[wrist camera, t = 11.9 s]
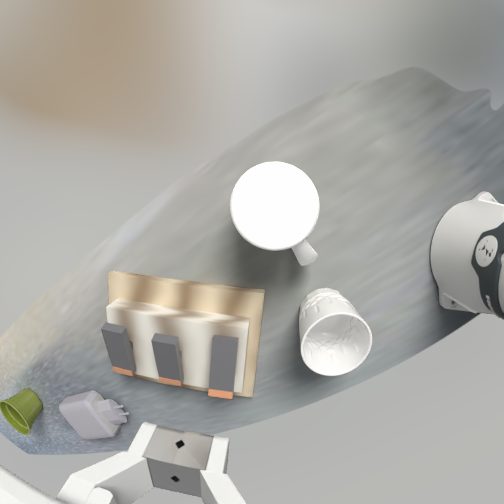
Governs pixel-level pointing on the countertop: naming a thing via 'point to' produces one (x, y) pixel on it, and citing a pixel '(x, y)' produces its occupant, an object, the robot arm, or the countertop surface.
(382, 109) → the countertop surface
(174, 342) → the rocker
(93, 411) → the charger
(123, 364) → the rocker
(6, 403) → the plant pot
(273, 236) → the mug
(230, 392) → the rocker
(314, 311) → the white cup
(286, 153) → the countertop surface
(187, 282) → the switch panel
